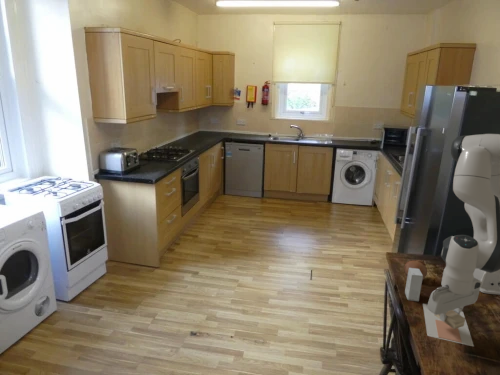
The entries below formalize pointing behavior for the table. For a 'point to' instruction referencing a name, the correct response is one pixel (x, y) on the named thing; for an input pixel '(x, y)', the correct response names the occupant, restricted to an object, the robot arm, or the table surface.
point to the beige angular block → (453, 319)
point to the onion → (418, 265)
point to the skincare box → (413, 284)
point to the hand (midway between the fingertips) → (449, 317)
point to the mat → (446, 329)
